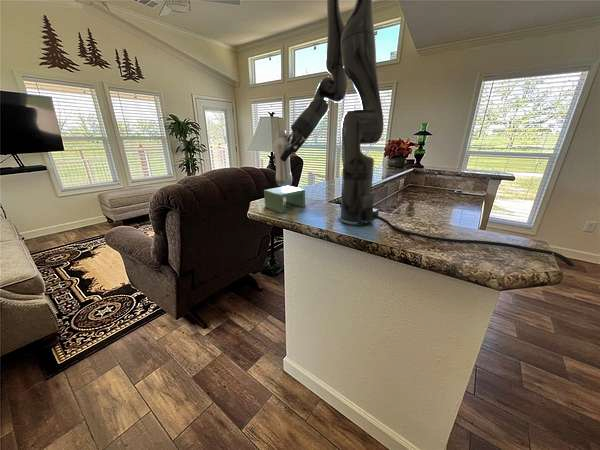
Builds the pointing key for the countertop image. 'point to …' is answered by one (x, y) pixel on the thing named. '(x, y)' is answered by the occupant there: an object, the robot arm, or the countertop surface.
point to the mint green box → (276, 196)
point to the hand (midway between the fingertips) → (278, 159)
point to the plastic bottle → (281, 167)
